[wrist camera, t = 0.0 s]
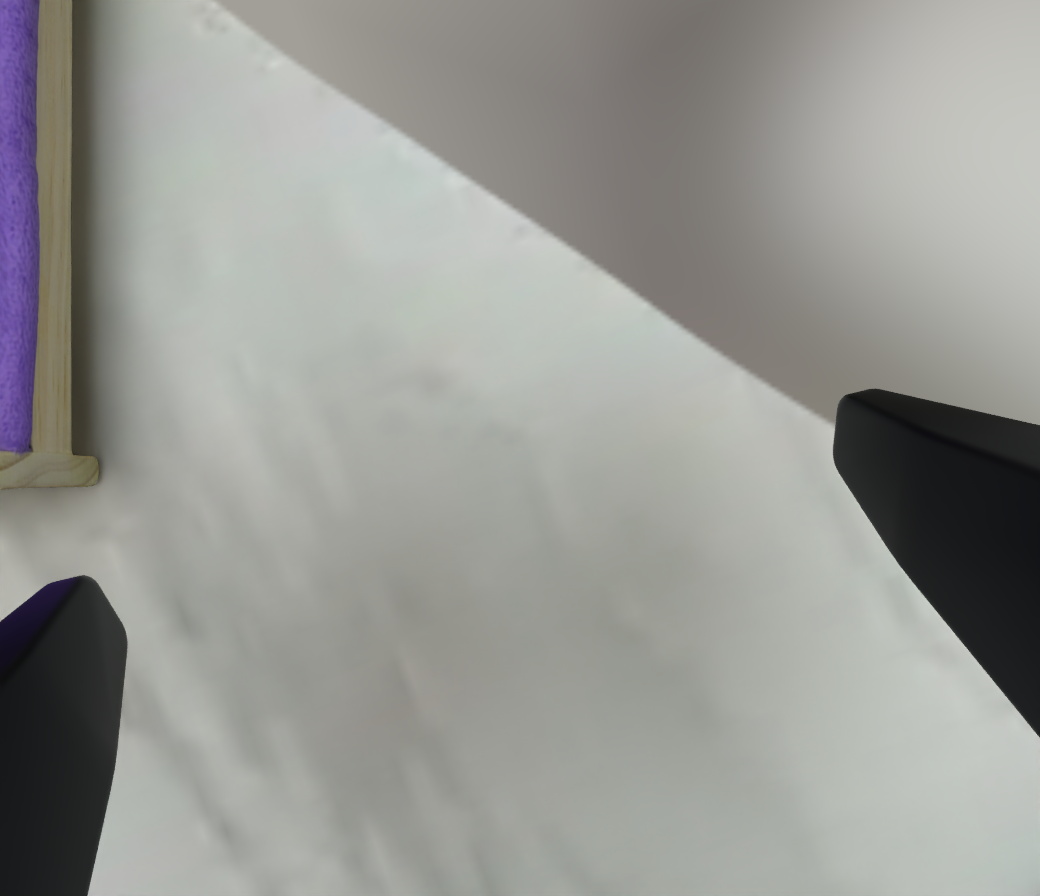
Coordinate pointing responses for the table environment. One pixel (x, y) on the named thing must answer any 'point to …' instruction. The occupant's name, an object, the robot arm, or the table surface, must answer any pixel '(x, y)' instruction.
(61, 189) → the toy sofa
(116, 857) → the table surface
